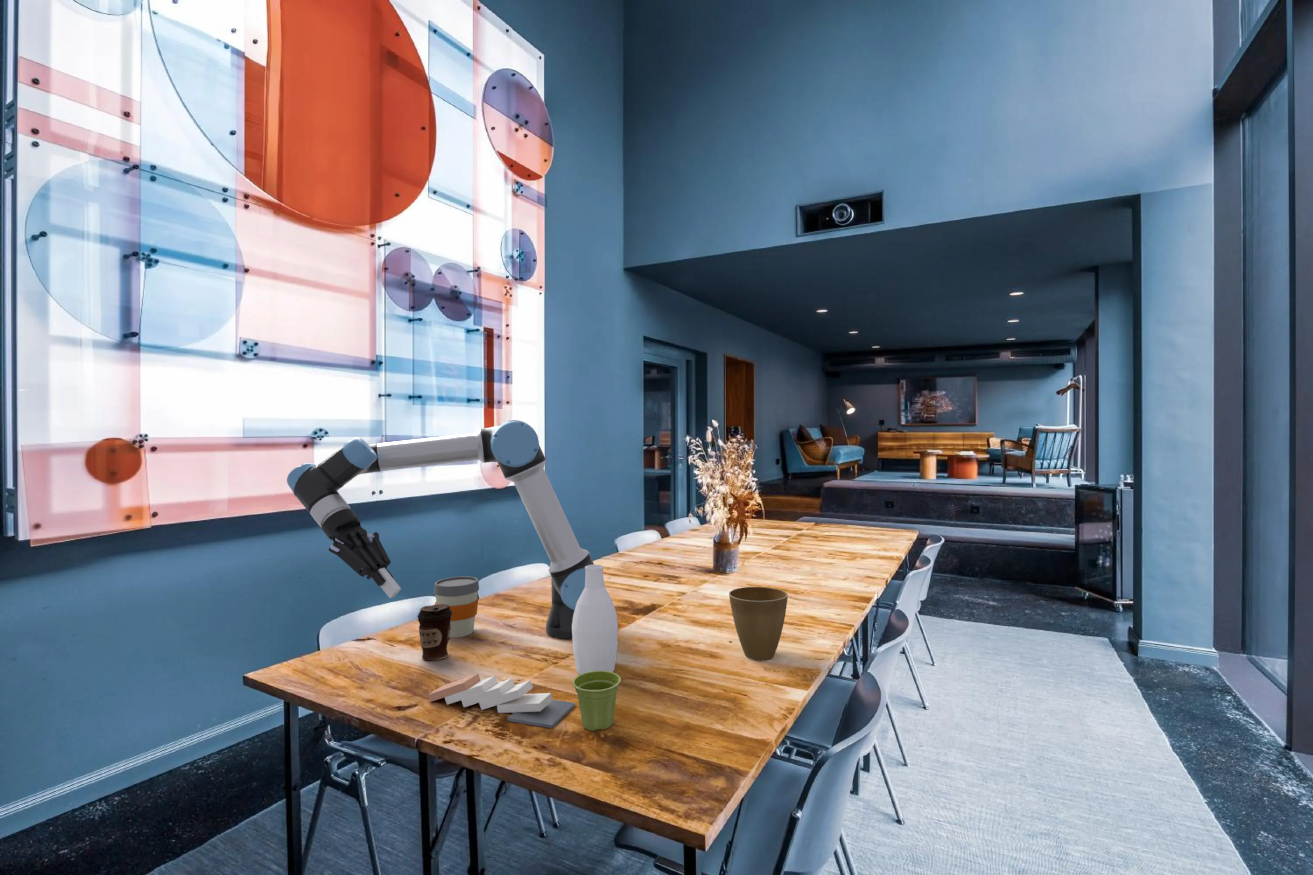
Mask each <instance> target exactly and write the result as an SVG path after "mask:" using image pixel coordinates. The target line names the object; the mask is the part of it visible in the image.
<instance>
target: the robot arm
mask: <svg viewBox="0 0 1313 875" xmlns="http://www.w3.org/2000/svg"><path fill="white" fill-rule="evenodd" d="M473 461H480V462H481V463H484V464H486V463H497V464H498V467H499V468H500V470H501V473H502V474H503V477H504V479H505V480H508V481H509V482H512V483H513V484H514V486H515V488H516V491H517V493H518V494H519V497H520V498H521V499H520V500H521V501H522V503H523V505H524V507H525V509H526V512H527V514H528V516H529V518H530V521H531V523H532V525H533V527H534V529H535V531H536V534H537V535H538V537H539V540H540V541H541V543H542V546H543V549H544V550H545V553H546V555H547V556H548V559H549V561H550V565H549V567H548V572H549V574H550V577H551V578H550V580H551V584H550V585H551V607H550V609H549V613H548V617H547V619H546V623H545V633H546V635H548V636H550V637H552V638H557V639H573V638H572V622H573V615H574V611H575V608H576V604H577V601H578V599H579V597H580V596H581V594H582V592H583V590H584V588H585V573H586V570H585V566H588V565H595V563H594V560H593V559H592V555H591V554H592V553H591V552H590V551H589V550H587V549H585V548H582V547H580V544H579V542H578V540H577V538H576V535H575V533H574V531H573V529H572V527H571V524H570V522H569V520H568V518H567V516H566V514H565V512H564V510H563V509H564V508H563V507H562V505H561V503H560V500H559V499H558V496H557V495H556V492H555V490H554V488H553V486H552V483H551V482H550V479H549V477H548V474H547V473H546V470H545V465H546V462H547V458H546V456H545V454H544V452H543V450H542V448H541V445H540V441H539V436H538V433H537V432H536V430H535V429H534V428H533V427H532V426H531V425H529V424H528V423H527V422H525V421H522V420H517V419H512V420H510V419H509V420H507V421H504V422H502V423H500V424H497V425H494V426H490V427H485V428H479V429H477V431H476V432H473V433H463V434H455V435H454V434H453V435H445V436H437V437H435V436H434V437H426V438H415V439H408V440H398V441H389V442H381V443H370V444H368V443H367V442H366V441H365V440H364V439H362V438H361V437H358V436H355V437H353V438H351V439H350V440H349V441H347V442H345V443H344V444H343V445H342V446H340V447H339V448H338V449H336V451H335V452H333V453H332V454H330V455H329V456H328V457H327V458H325V459H324V460H323V461H321V462H320V463H319V464H317V465H316V464H315V463H313V462H306V463H303V464H301V465H300V466H296V467H294V468H293V469H292V470H291V471H290V472H289V473H288V474H287V477H286V483H287V485H288V487H289V488H290V490H291V491H292V493H293V496H294V497H296V499H297V500H298V501H299V502H300V503H301V505H302V506H303V507H304V508H305V509H306V511H307V512H308V514H310V516H311V517H312V518H313V520H314V521H315V522H316V523H317V524H318V526H319V527H320V528H321V531H323V533H324V534H325V536H326V537H327V538H328V539H329V540H331V541H332V542H333V543H332V544H331V545H330V546H329V548H328V551H329V552H330V553H332V554H333V555H336V556H337V557H338V558H340V559H341V560H342V561H343V562H344V564H346V565H347V566H349V567H350V569H352V570H353V571H354V572H355V573H357V575H359V576H360V577H365V576H366V577H365V578H366V580H370V579H372V580H373V581H374V583H376V585H377V586H378V587H380V588H381V589H382V590H383V592H384V593H385V594H386V596H387V597H388V598H389V599H392V598H395V597H396V596H397V594H398V593H399V592H400V591H401V590H402V588H401V586H400V585H399V584H398V582H396V580H395V578H394V576H393V575H392V573H391V572H390V571H389V569H388V567H389V565H391V563H392V562H391V560H390V557H389V556H388V553H387V552H386V550H385V548H384V546H383V544H382V542H381V540H380V534H379V533H378V532H377V531H375V532H373V533H369V532H368V531H367V530H366V529H365V528H364V527H362V525H361V519H360V518H359V517H358V515H357V514H356V513H355V511H353V509H351V506H350V505H349V504H348V502H347V501H346V500H345V499H344V497H342V495H341V494H340V493H339V492H338V491H339V490H340V489H342V488H344V486H345V485H346V484H348V483H350V481H352V480H354V479H355V478H356V477H357V476H359V475H364V474H371V473H379V472H387V471H395V470H403V469H412V468H421V467H430V466H437V465H447V464H448V465H449V464H456V463H464V462H473ZM604 587H605V588H606V586H605V584H604Z"/></svg>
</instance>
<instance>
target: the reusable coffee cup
mask: <svg viewBox="0 0 1313 875" xmlns="http://www.w3.org/2000/svg"><path fill="white" fill-rule="evenodd" d="M479 590H480V582H479V579H478V578H477V577H475V576H466V575H465V576H464V575H462V576H453V577H446V578H442V579H439V580H437V581H436V582H434V590H433V594H434V595H435V602H434V603H435V604H434V605H438V604H446V605H449V606H450V610H452V616H451V621H450V626H451V630H450V639H451V638H452V639H453V638H462V637H463V638H464V637H466V636H469V635H471V634H472V633H474V629H475V628H474V627H475V620H476V615H477V614H478V608H479V607H478V606H479V597H478V592H479Z"/></svg>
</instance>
